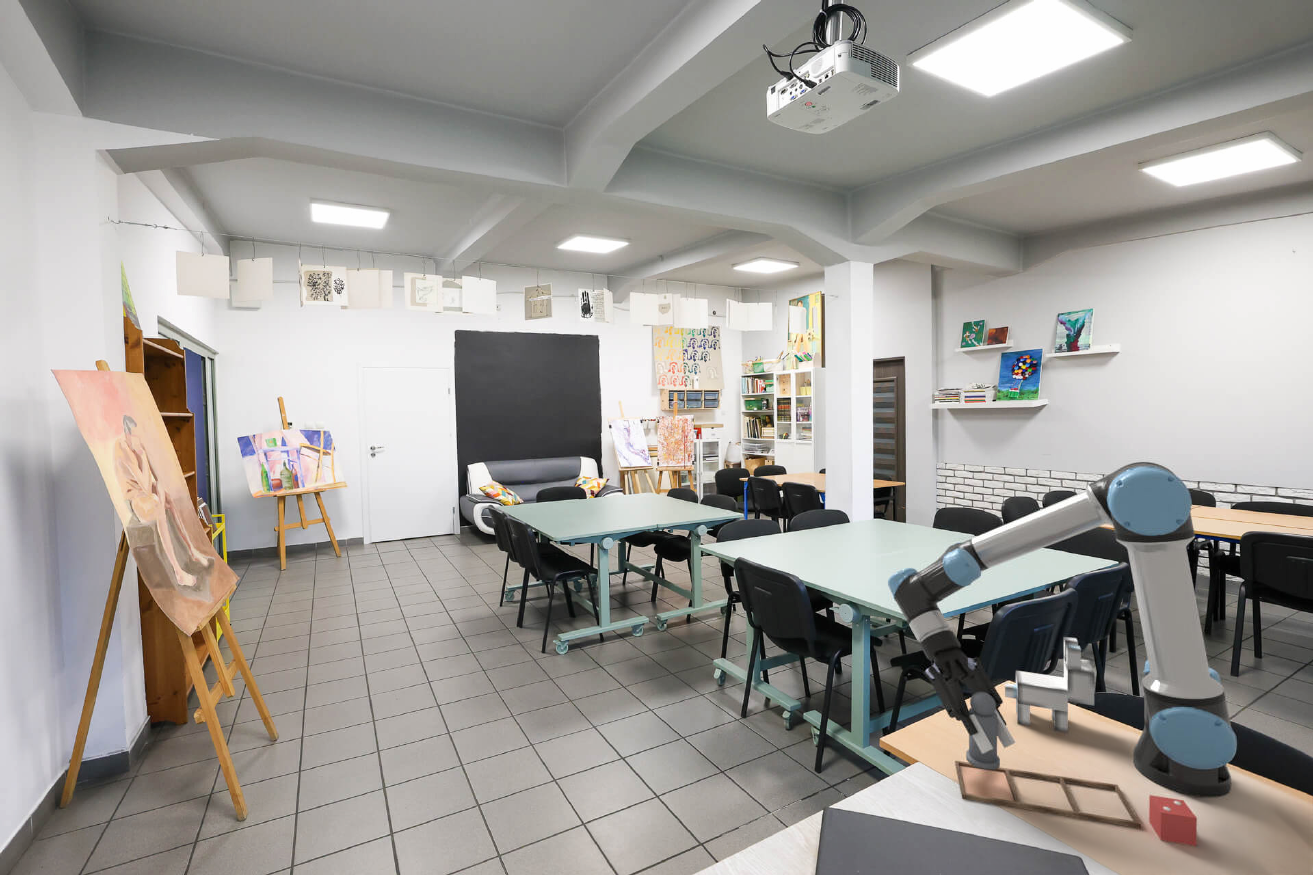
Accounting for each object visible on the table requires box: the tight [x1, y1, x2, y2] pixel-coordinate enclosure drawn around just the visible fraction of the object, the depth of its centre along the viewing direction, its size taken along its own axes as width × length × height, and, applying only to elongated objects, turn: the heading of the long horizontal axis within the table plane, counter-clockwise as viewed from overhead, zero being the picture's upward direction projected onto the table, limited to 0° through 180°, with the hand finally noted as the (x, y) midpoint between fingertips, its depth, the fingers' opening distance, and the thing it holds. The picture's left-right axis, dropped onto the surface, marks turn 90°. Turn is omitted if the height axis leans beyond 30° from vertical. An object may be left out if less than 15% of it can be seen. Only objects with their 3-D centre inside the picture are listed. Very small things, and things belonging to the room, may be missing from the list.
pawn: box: [965, 692, 1001, 770], centre depth 124 cm, size 6×6×14 cm
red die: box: [1148, 794, 1198, 847], centre depth 109 cm, size 5×5×5 cm
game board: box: [954, 760, 1142, 829], centre depth 121 cm, size 29×12×1 cm, turn 70°
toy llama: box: [1004, 636, 1095, 734], centre depth 147 cm, size 8×18×20 cm, turn 62°
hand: (998, 747), depth 121 cm, fingers closed on pawn, 5 cm apart
